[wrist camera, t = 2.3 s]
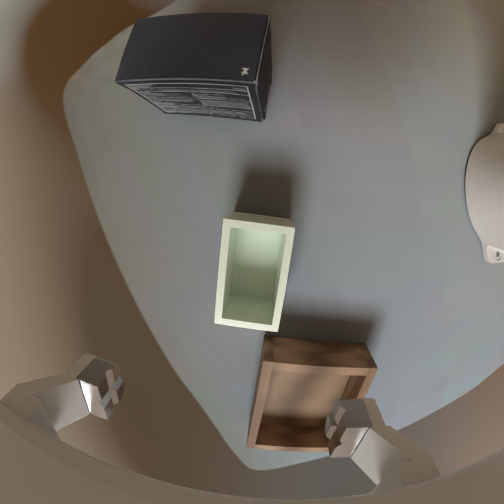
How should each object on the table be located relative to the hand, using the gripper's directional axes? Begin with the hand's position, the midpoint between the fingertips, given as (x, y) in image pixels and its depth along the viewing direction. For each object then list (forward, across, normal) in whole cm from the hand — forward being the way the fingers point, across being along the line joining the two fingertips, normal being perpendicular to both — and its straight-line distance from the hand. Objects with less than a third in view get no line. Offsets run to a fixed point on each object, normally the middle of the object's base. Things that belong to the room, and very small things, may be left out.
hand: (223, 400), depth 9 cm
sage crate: (+20, 0, 0) cm, 20 cm away
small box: (+20, +6, -17) cm, 27 cm away
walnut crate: (+20, -8, +16) cm, 27 cm away
